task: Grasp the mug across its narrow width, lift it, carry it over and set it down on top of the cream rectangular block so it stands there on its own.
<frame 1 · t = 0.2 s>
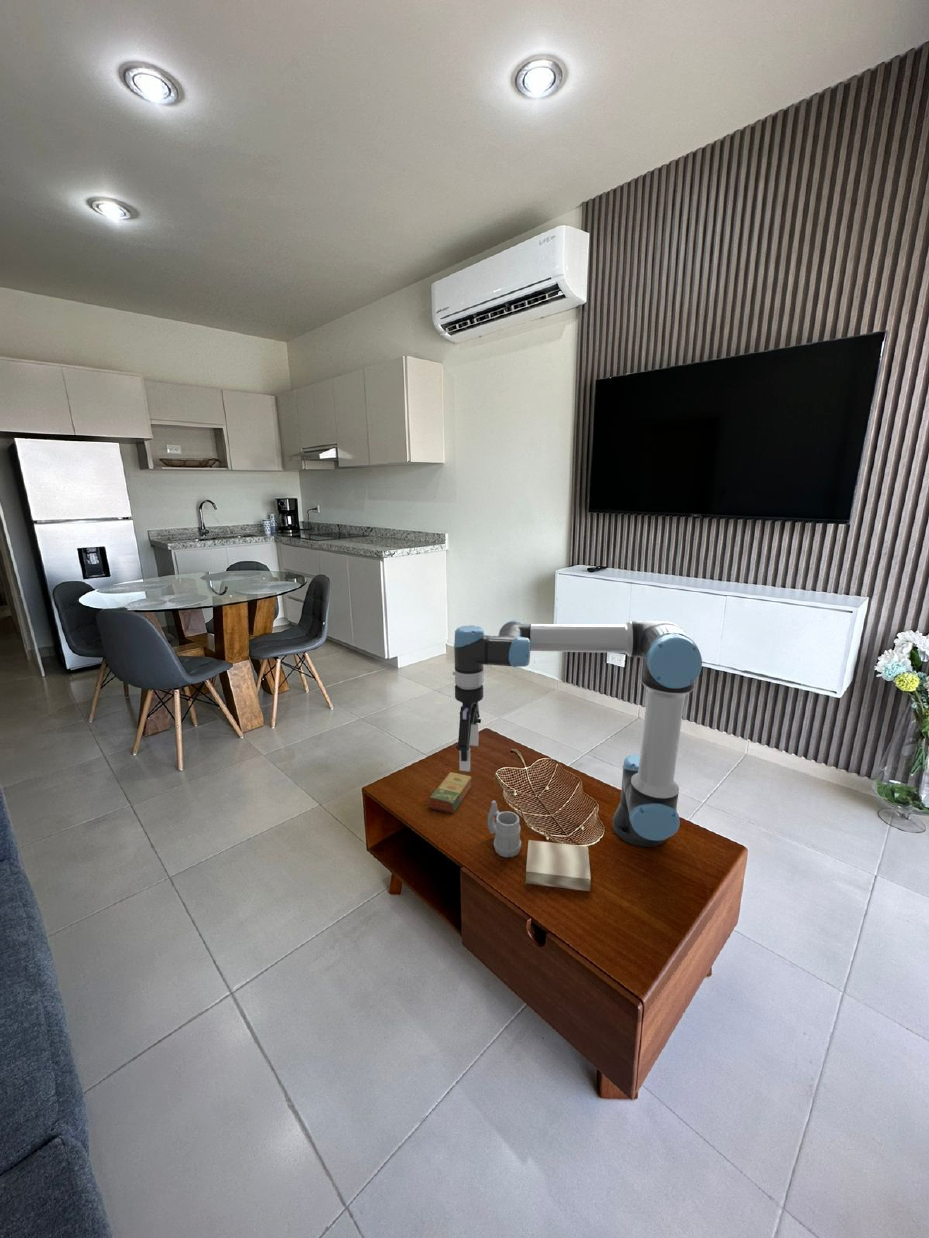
hand: (469, 757, 139), 27 cm above the table, fingers open, 13 cm apart
mug: (502, 845, 144), on the table
carton: (451, 798, 167), on the table
cream rectangular block: (557, 871, 135), on the table
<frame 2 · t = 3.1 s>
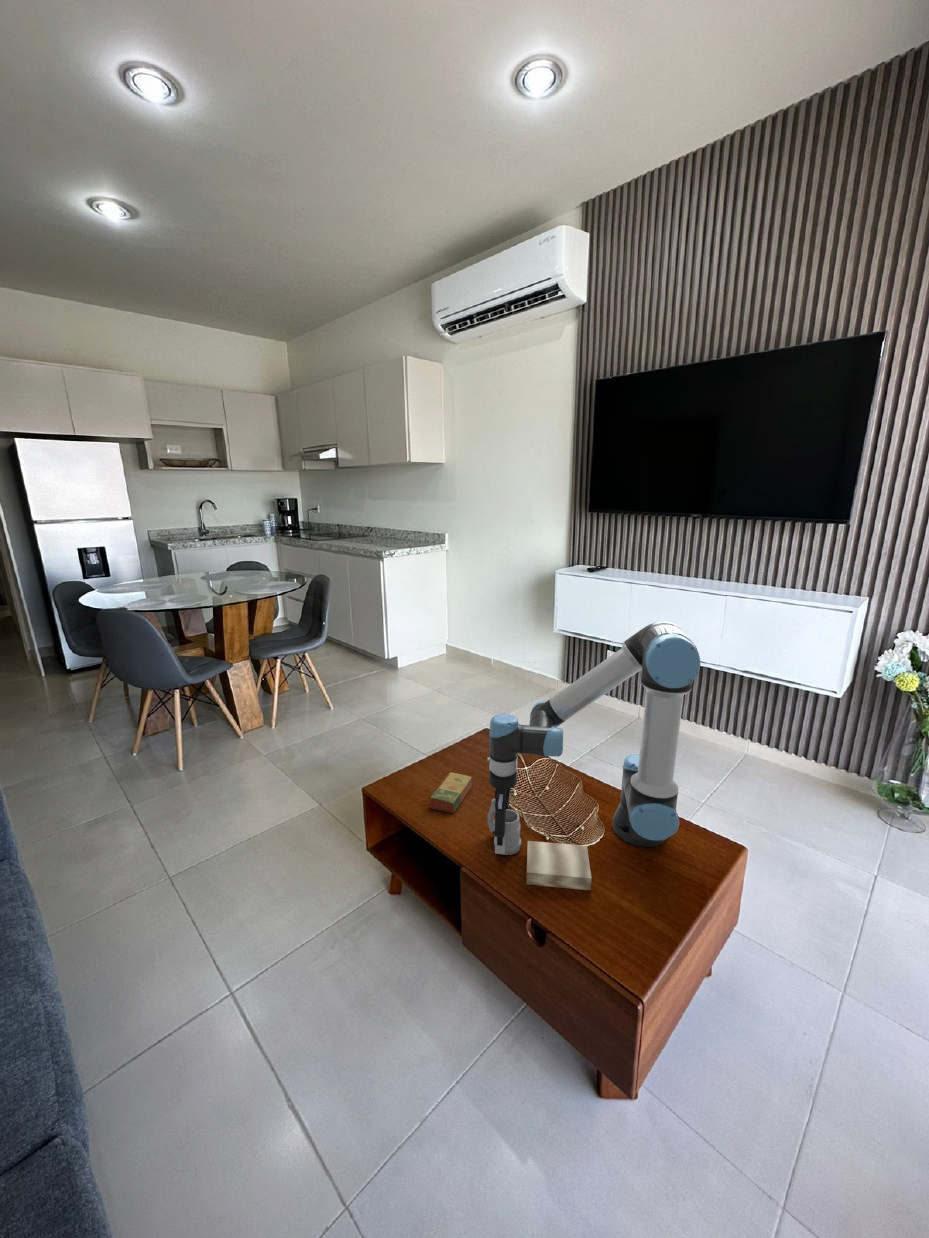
hand: (501, 841, 144), 1 cm above the table, fingers closed on mug, 8 cm apart
mug: (502, 843, 145), on the table, touching gripper
everything else where it was.
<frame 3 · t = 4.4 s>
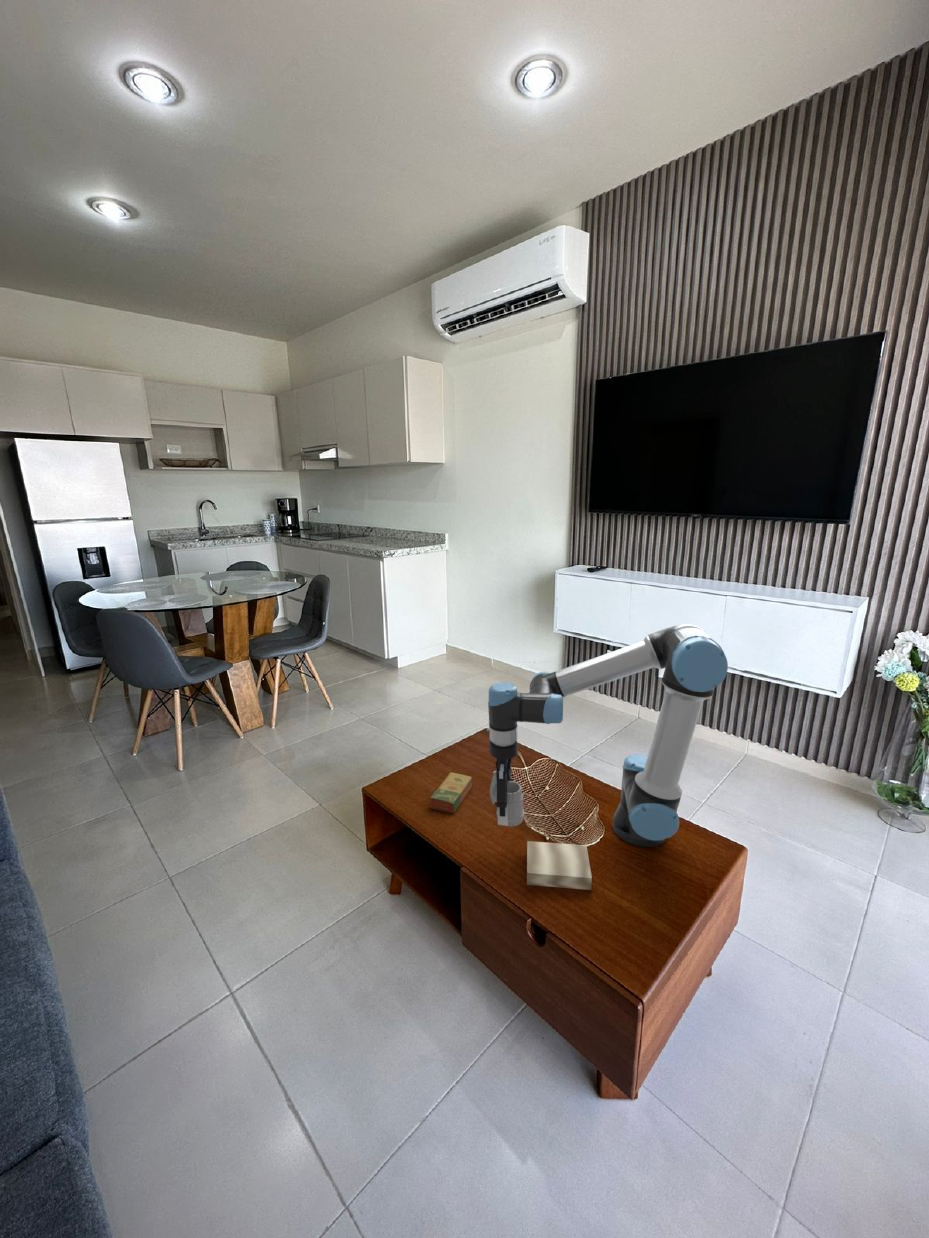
hand: (504, 813, 142), 10 cm above the table, fingers closed on mug, 8 cm apart
mug: (505, 815, 143), point 9 cm above the table, touching gripper
everything else where it was.
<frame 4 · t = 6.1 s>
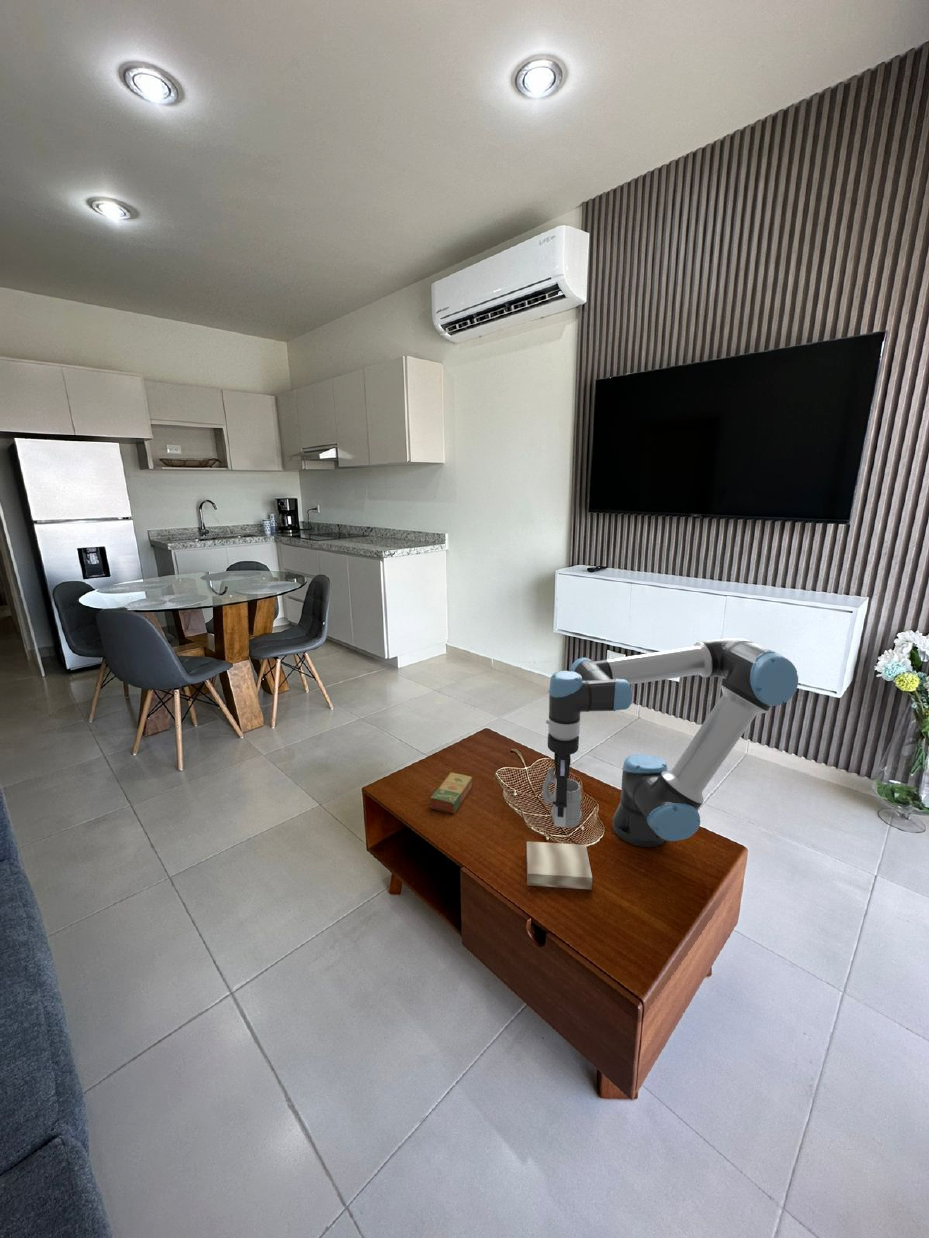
hand: (559, 814, 130), 17 cm above the table, fingers closed on mug, 8 cm apart
mug: (559, 815, 131), point 16 cm above the table, touching gripper
everything else where it was.
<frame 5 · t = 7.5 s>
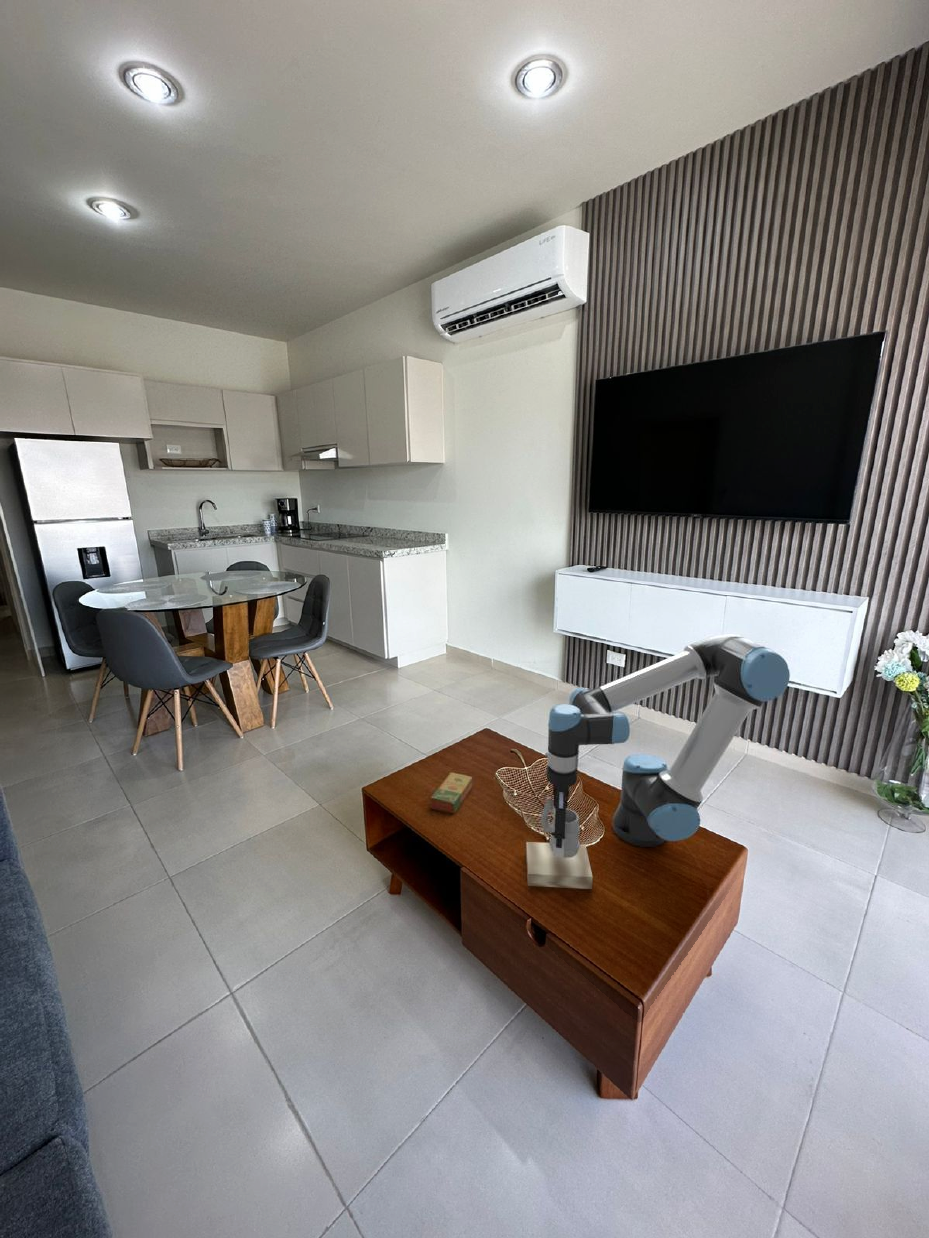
hand: (558, 843, 132), 8 cm above the table, fingers closed on mug, 8 cm apart
mug: (558, 844, 134), point 7 cm above the table, touching gripper
everything else where it was.
when the fingers open (6 cm above the table, at t = 8.8 s): mug drops 2 cm, point 3 cm above the table.
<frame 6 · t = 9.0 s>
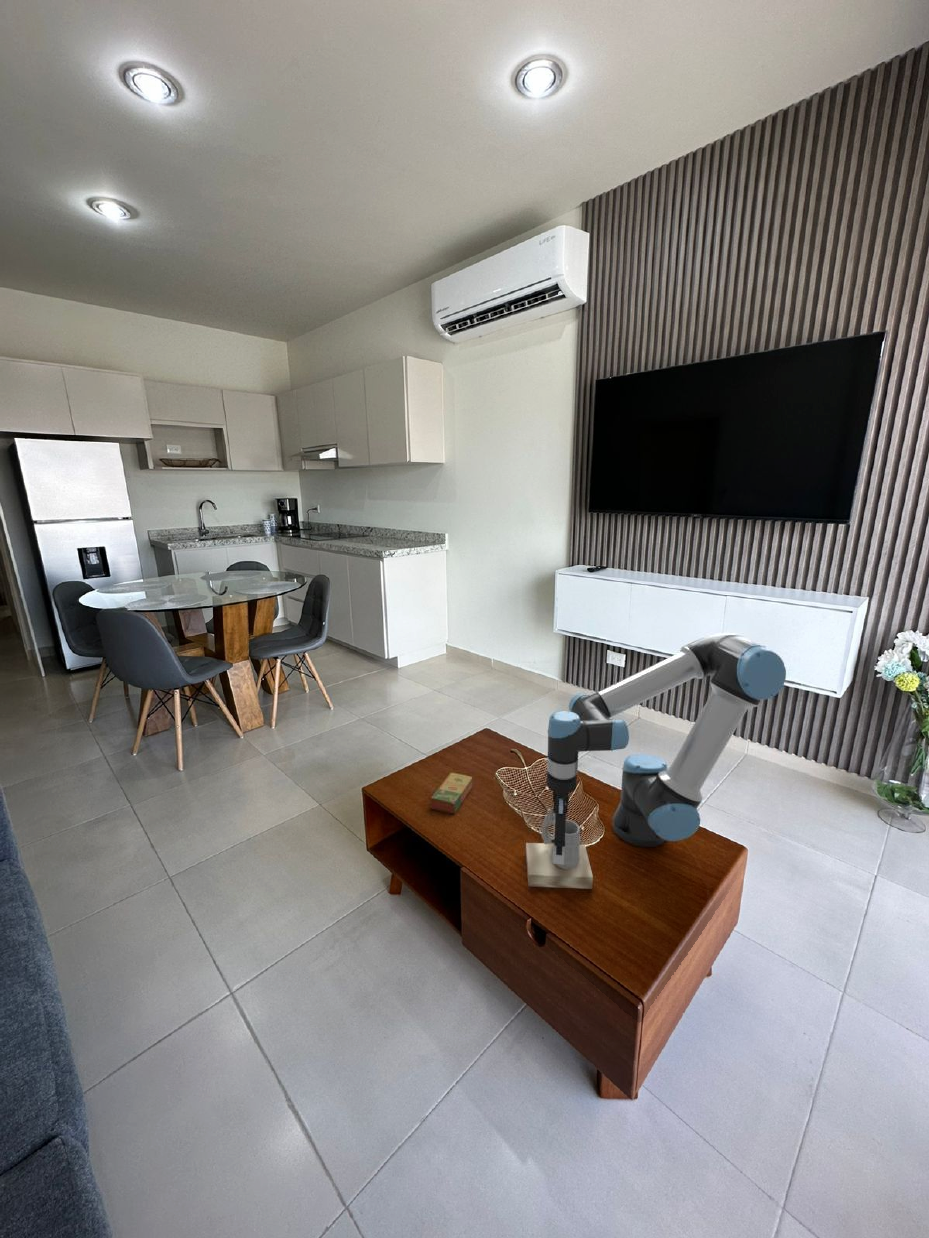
hand: (558, 847, 133), 7 cm above the table, fingers open, 11 cm apart
mug: (558, 856, 135), point 3 cm above the table
everything else where it was.
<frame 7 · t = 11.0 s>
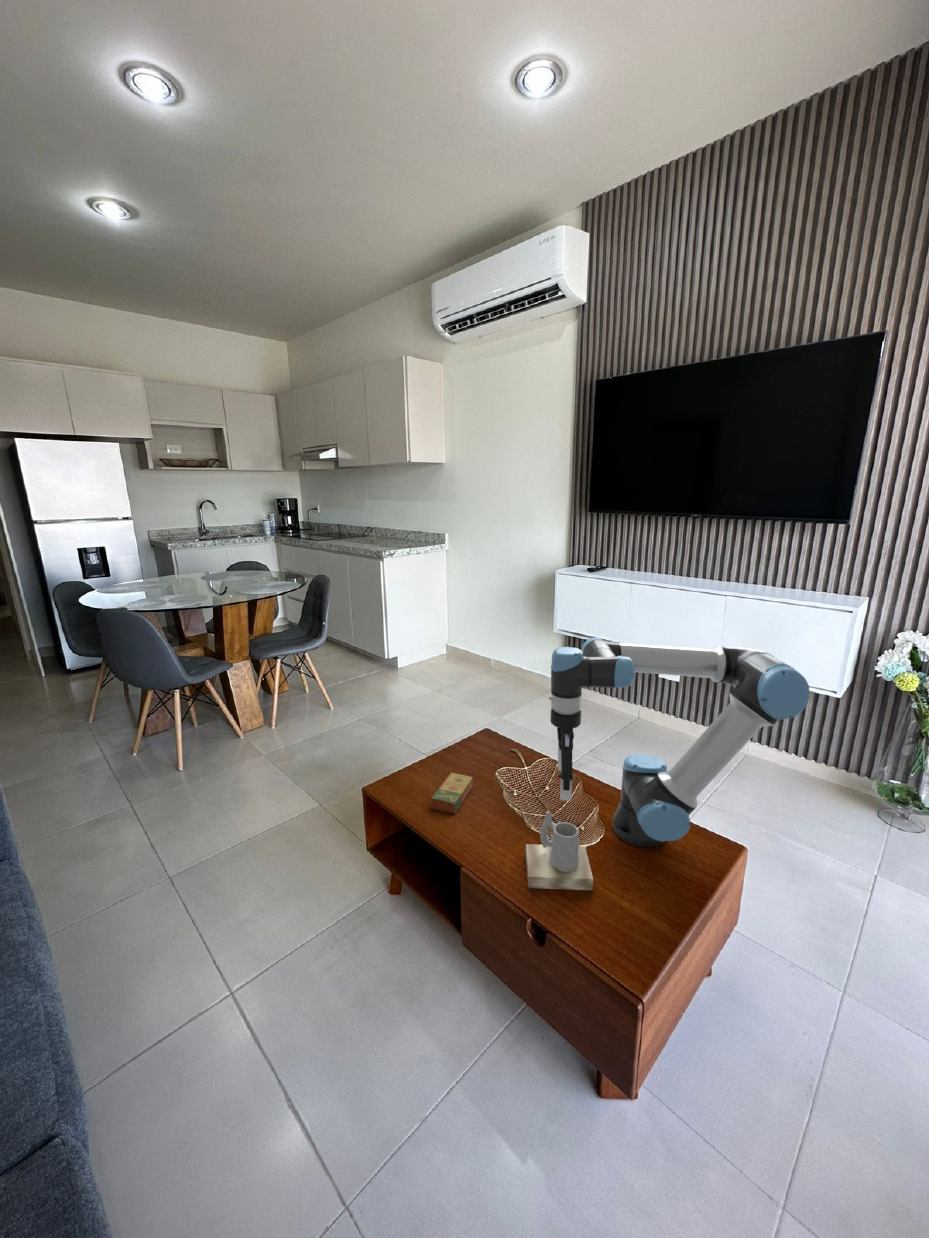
hand: (564, 784, 132), 23 cm above the table, fingers open, 13 cm apart
mug: (557, 859, 134), point 3 cm above the table, touching cream rectangular block
cream rectangular block: (557, 873, 134), on the table, touching mug
everything else where it was.
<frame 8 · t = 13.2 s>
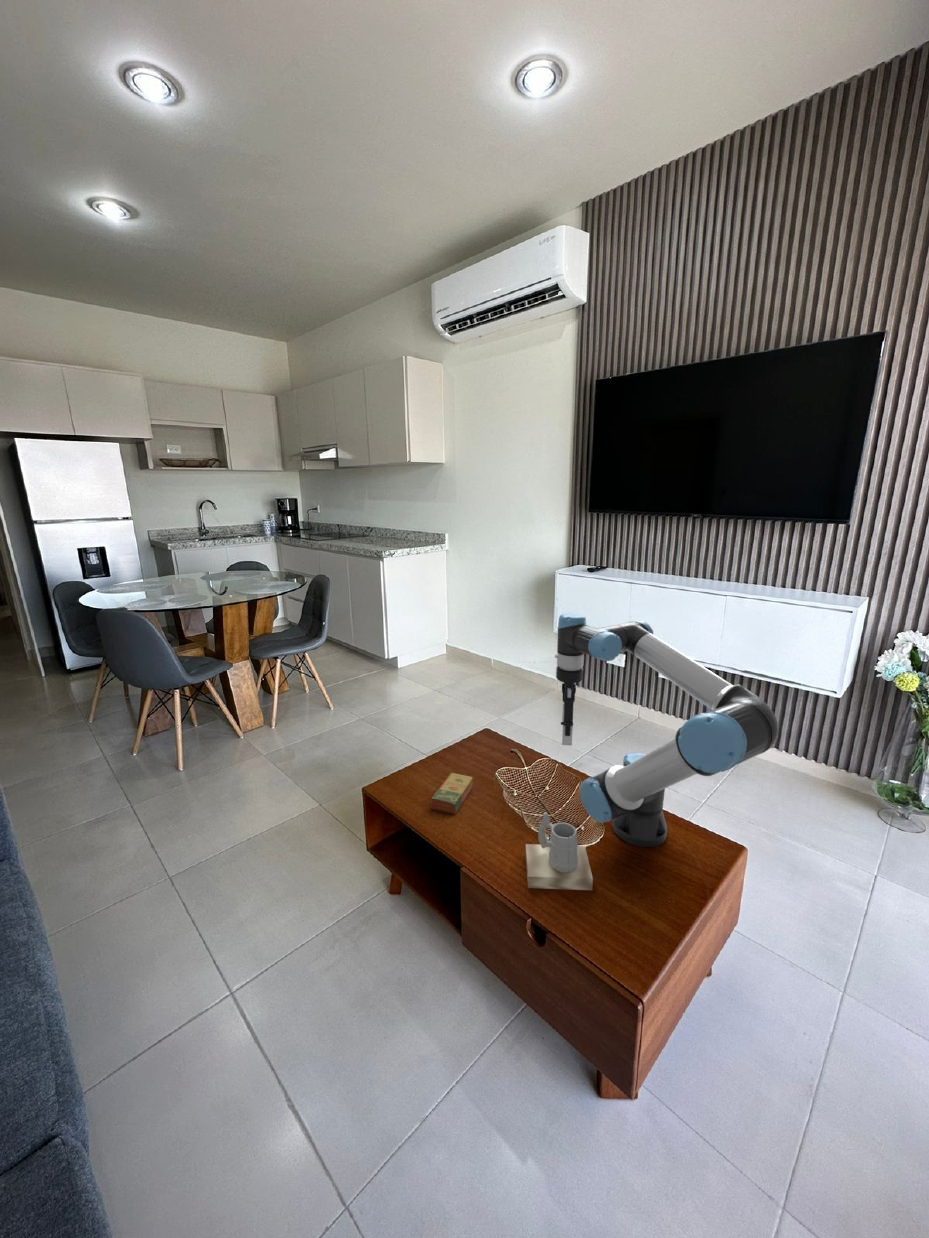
hand: (566, 733, 152), 27 cm above the table, fingers open, 13 cm apart
nothing on the table moved.
at the end: mug inside the target area on the cream rectangular block (0.6 cm from its centre), point 3.8 cm above the cream rectangular block's base; mug tilted 0°; the gripper is holding nothing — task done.
